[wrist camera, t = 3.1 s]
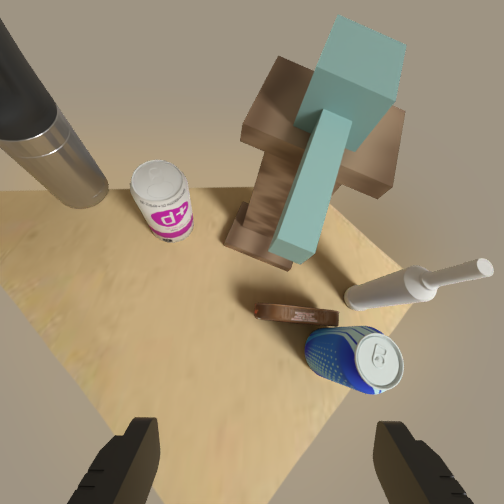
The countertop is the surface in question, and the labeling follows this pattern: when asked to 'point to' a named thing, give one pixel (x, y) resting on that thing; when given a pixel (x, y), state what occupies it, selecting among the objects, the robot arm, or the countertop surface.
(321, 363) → the beer can
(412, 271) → the bottle
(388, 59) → the mallet
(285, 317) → the tin
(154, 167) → the supplement can
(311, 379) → the countertop surface
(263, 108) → the stand
